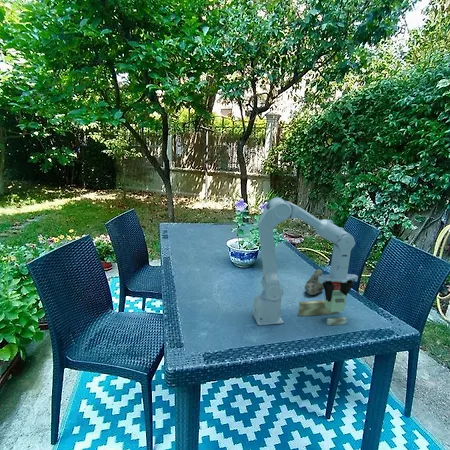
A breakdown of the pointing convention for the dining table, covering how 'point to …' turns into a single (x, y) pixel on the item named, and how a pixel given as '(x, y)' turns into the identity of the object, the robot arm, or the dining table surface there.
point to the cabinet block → (336, 301)
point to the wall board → (319, 311)
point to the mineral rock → (314, 283)
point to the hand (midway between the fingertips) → (335, 299)
